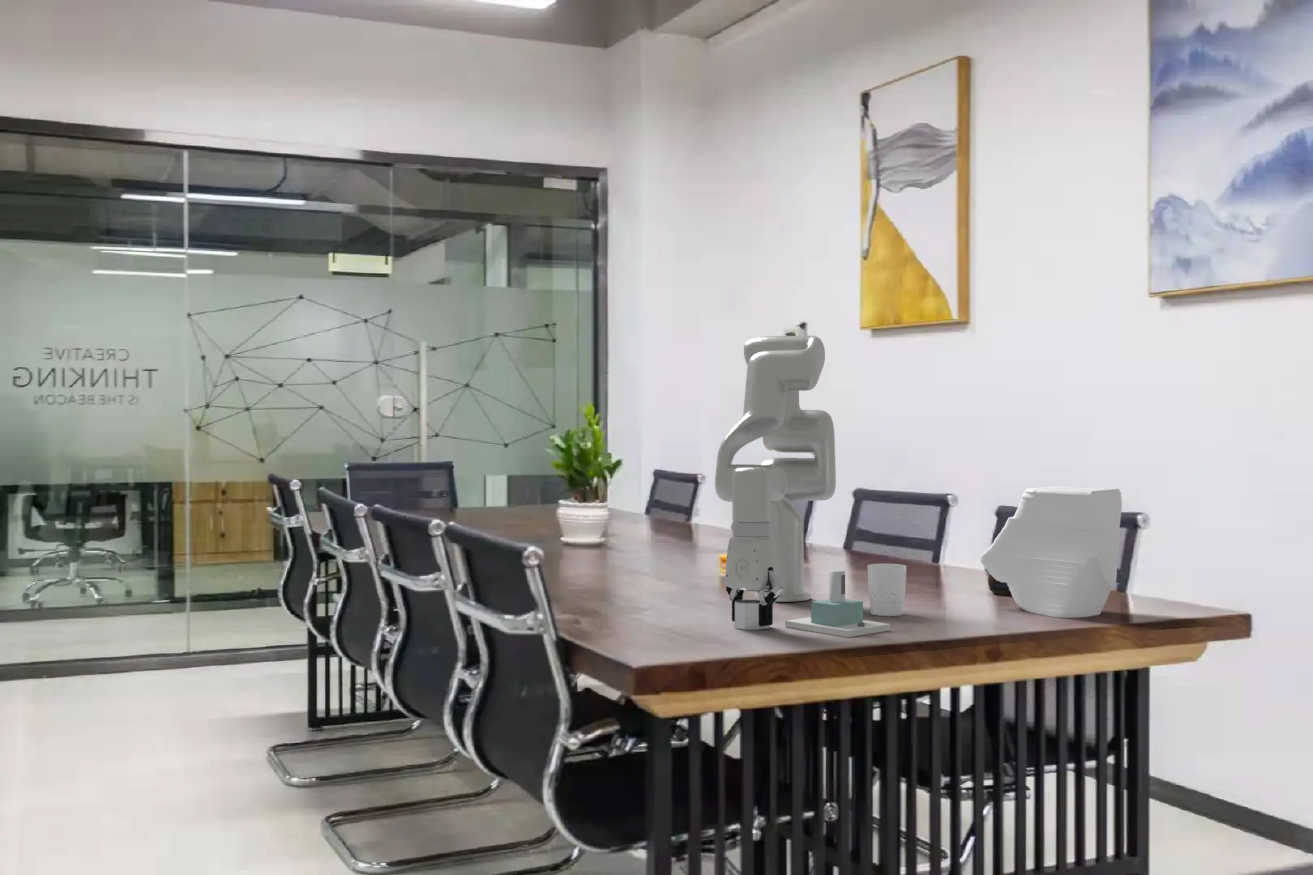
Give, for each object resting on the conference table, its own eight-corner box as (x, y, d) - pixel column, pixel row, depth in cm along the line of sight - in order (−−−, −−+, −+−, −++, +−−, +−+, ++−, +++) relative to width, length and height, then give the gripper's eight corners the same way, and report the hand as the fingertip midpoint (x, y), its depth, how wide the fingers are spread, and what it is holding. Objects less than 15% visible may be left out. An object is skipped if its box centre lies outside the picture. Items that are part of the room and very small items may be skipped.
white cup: (880, 617, 258) (880, 568, 258) (860, 612, 266) (860, 564, 266) (914, 615, 261) (913, 566, 261) (893, 610, 269) (892, 562, 269)
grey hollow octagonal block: (727, 626, 247) (727, 601, 247) (752, 623, 252) (752, 598, 251) (751, 631, 242) (751, 604, 242) (776, 627, 246) (776, 601, 246)
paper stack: (1079, 622, 252) (1079, 492, 252) (976, 606, 274) (976, 486, 274) (1147, 613, 263) (1147, 488, 263) (1042, 598, 286) (1042, 483, 286)
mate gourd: (1020, 592, 296) (1020, 549, 296) (1021, 596, 289) (1021, 552, 289) (988, 591, 298) (988, 548, 298) (988, 595, 291) (988, 551, 291)
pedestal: (785, 626, 247) (785, 570, 247) (827, 620, 255) (827, 565, 255) (847, 637, 235) (847, 577, 235) (890, 630, 242) (890, 572, 242)
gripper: (707, 529, 251) (707, 620, 251) (770, 534, 238) (770, 630, 238) (734, 527, 256) (735, 616, 256) (798, 532, 242) (798, 626, 243)
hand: (752, 622), depth 247 cm, fingers closed on grey hollow octagonal block, 6 cm apart
